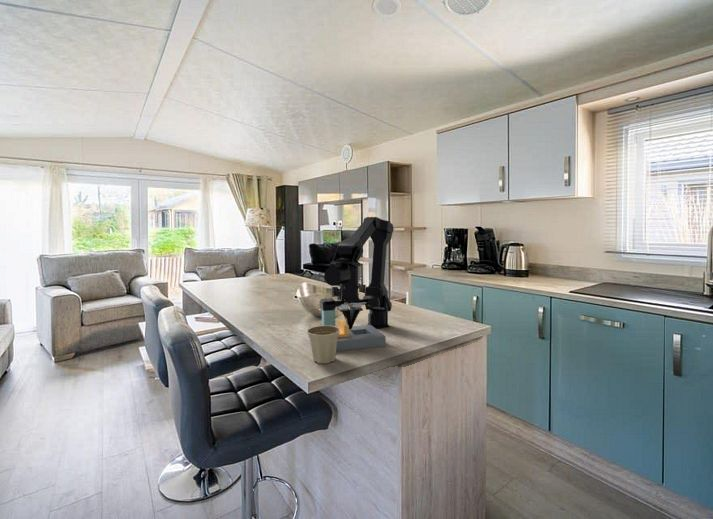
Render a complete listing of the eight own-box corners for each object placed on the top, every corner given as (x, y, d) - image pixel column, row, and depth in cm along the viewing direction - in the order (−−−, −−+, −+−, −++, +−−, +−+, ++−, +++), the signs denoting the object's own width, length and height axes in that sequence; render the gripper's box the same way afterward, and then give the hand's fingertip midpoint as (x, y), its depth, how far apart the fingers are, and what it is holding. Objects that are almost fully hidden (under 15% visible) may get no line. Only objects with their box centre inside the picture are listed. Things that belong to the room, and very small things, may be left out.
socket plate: (370, 333, 128) (370, 324, 128) (385, 345, 114) (385, 336, 114) (314, 338, 122) (314, 329, 122) (323, 352, 109) (322, 342, 108)
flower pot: (312, 368, 96) (312, 336, 96) (303, 356, 105) (302, 327, 104) (345, 362, 100) (345, 332, 99) (333, 352, 109) (333, 323, 108)
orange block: (342, 329, 121) (342, 319, 121) (348, 336, 114) (348, 325, 113) (318, 331, 119) (318, 321, 119) (323, 339, 111) (323, 327, 111)
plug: (332, 330, 131) (332, 306, 130) (335, 334, 127) (335, 308, 126) (321, 332, 130) (321, 307, 129) (324, 335, 126) (323, 309, 125)
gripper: (368, 276, 127) (368, 320, 128) (315, 279, 121) (316, 325, 123) (380, 281, 116) (380, 329, 118) (323, 284, 111) (323, 334, 112)
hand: (350, 329), depth 118 cm, fingers closed
